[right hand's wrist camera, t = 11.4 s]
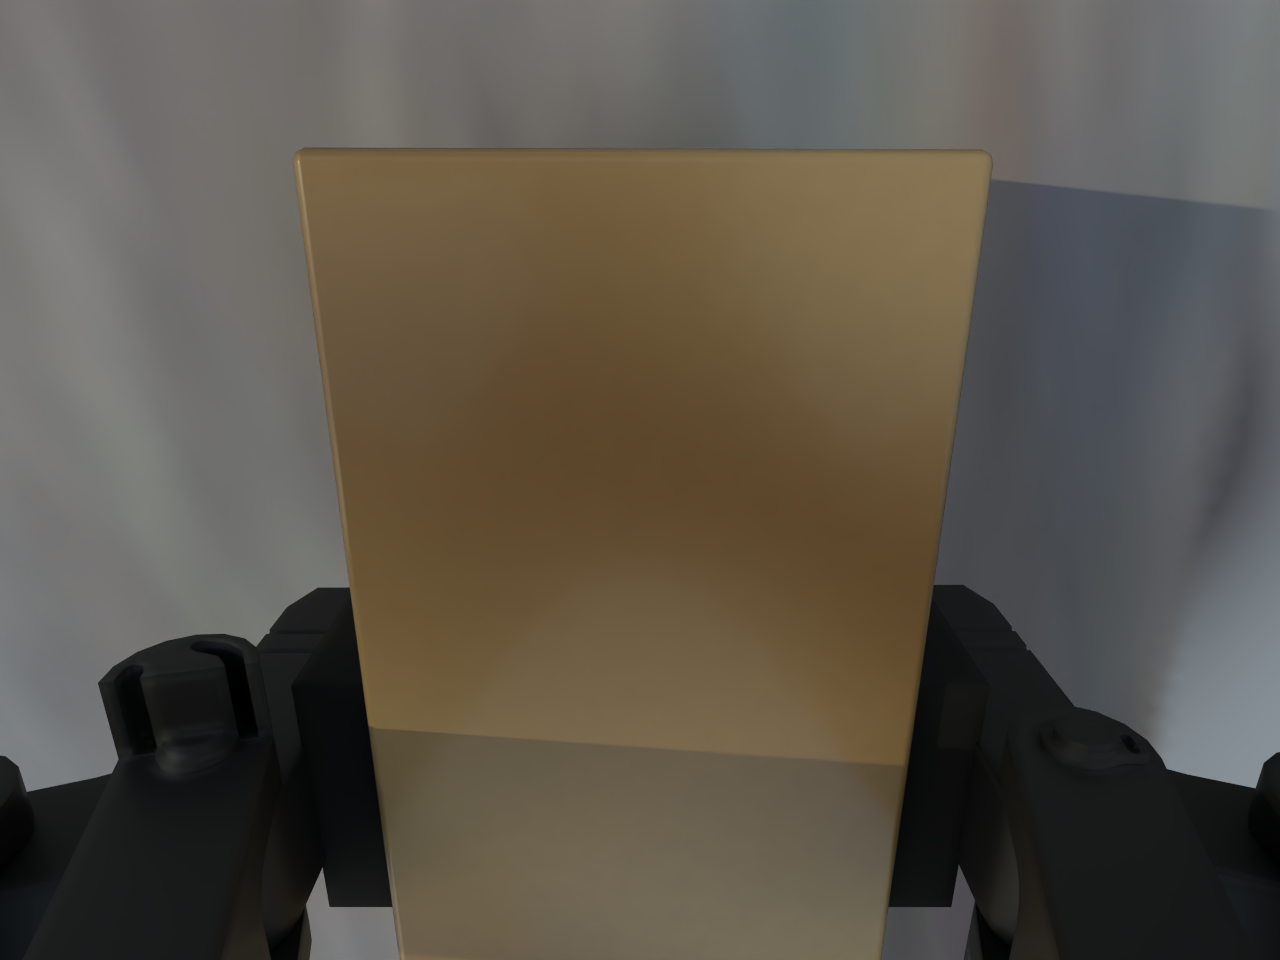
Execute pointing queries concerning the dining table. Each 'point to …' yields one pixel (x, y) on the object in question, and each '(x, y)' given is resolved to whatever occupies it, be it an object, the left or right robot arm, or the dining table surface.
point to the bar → (641, 528)
